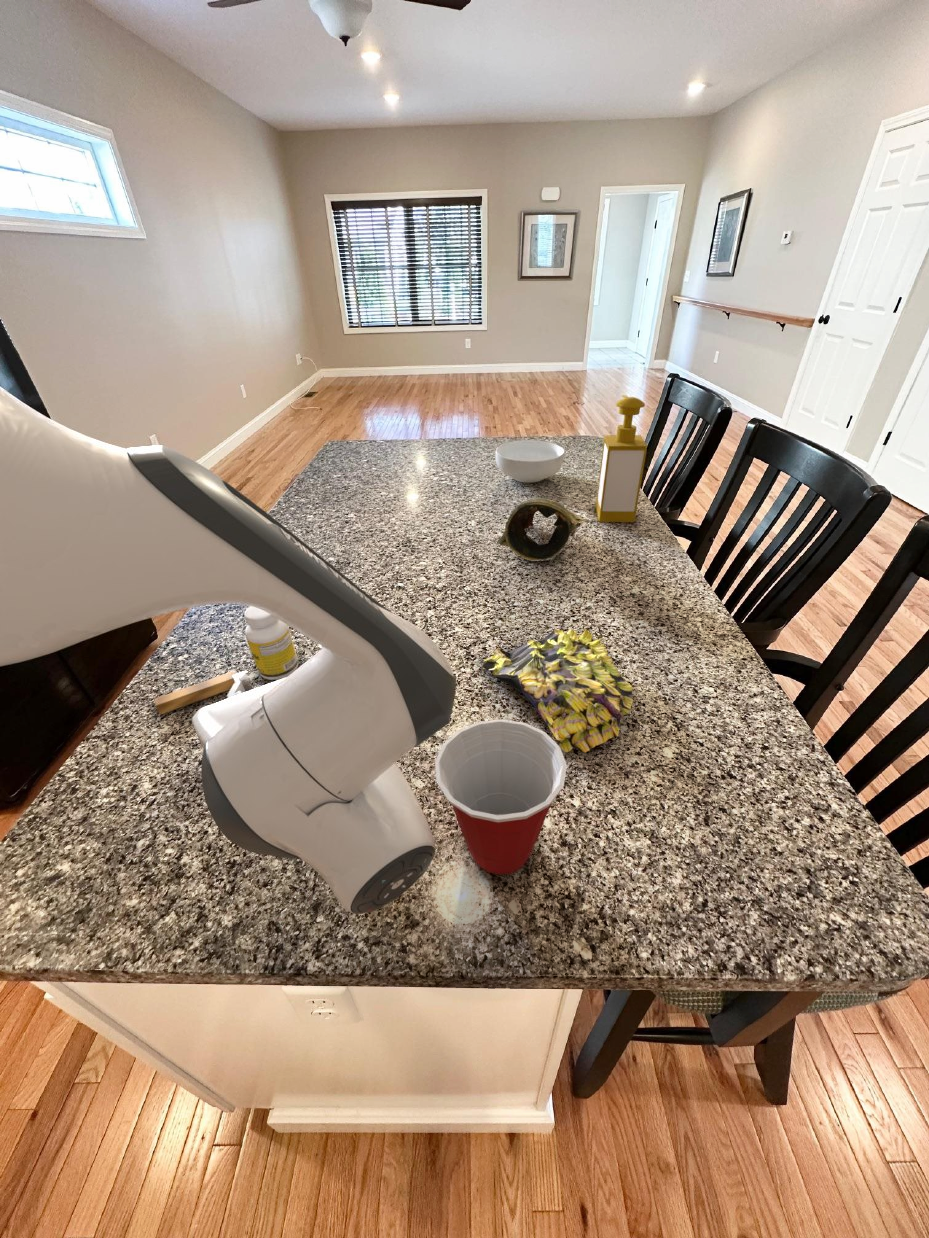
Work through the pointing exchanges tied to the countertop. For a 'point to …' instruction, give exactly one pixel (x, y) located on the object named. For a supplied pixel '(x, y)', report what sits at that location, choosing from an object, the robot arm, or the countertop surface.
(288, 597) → the robot arm
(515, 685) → the banana patterned fabric
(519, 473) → the cereal bowl
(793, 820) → the countertop surface
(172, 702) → the wooden bar
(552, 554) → the pot
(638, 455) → the soap bottle
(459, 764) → the plastic cup
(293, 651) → the supplement bottle
